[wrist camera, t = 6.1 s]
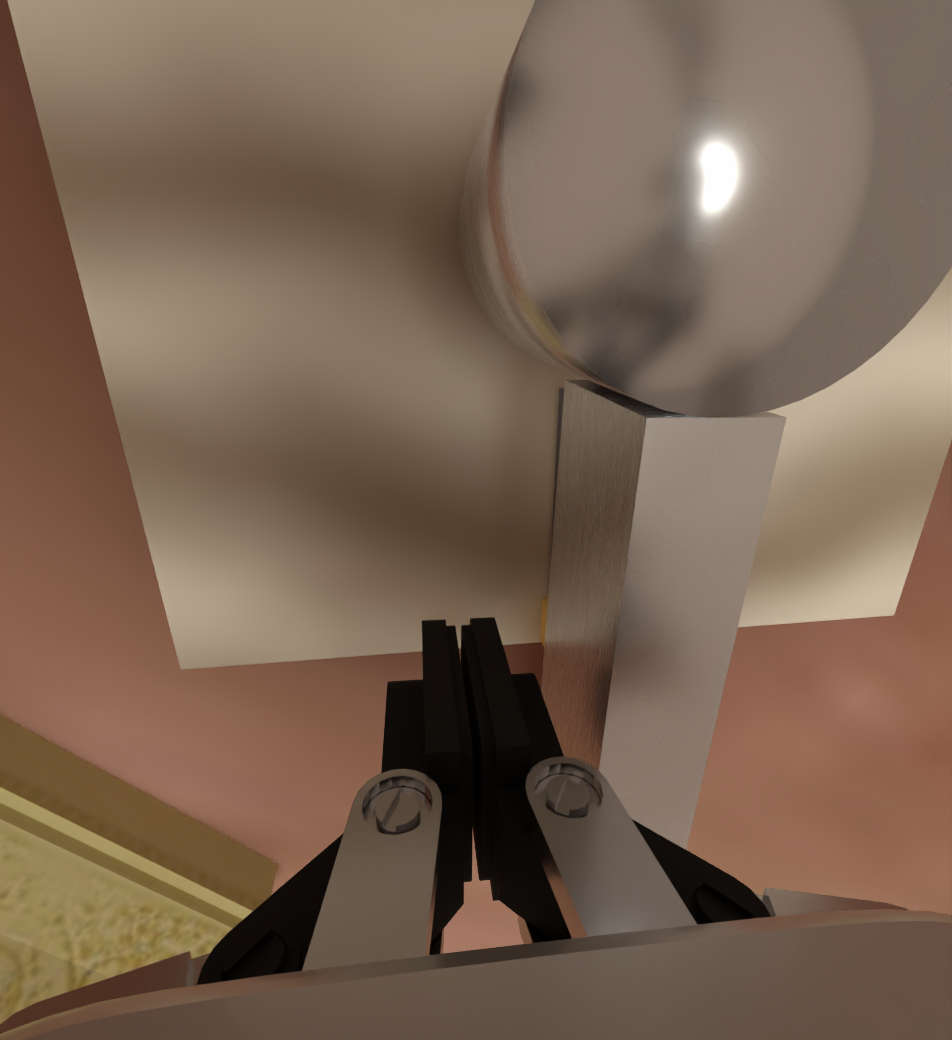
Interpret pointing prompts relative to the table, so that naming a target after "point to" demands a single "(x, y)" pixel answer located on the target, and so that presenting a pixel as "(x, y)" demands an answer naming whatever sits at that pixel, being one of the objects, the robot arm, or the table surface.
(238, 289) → the dial base
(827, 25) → the capstan lever
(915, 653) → the table surface
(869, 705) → the table surface
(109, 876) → the decorative clock
